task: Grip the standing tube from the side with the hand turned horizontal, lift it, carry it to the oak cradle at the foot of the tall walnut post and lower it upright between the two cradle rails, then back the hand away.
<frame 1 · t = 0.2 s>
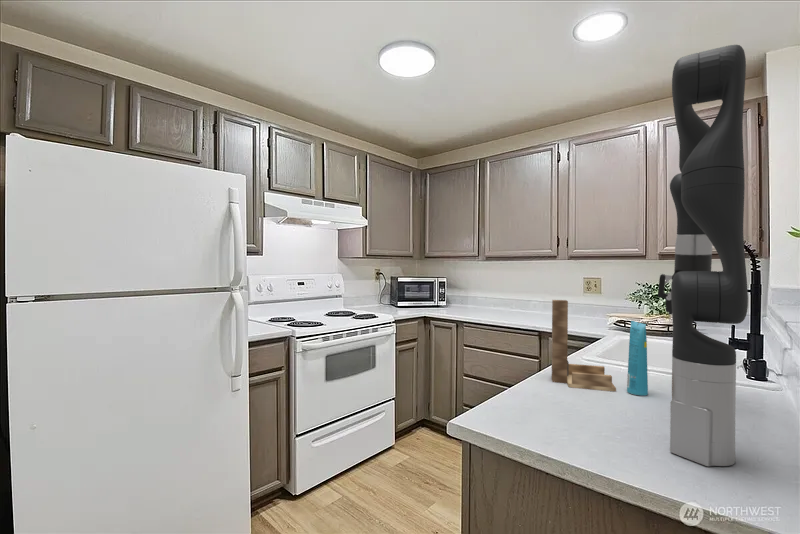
hand: (690, 315, 102), 22 cm above the table, tool pointing down, fingers open, 8 cm apart
headboard bracket: (588, 383, 117), on the table
tube: (637, 393, 108), on the table
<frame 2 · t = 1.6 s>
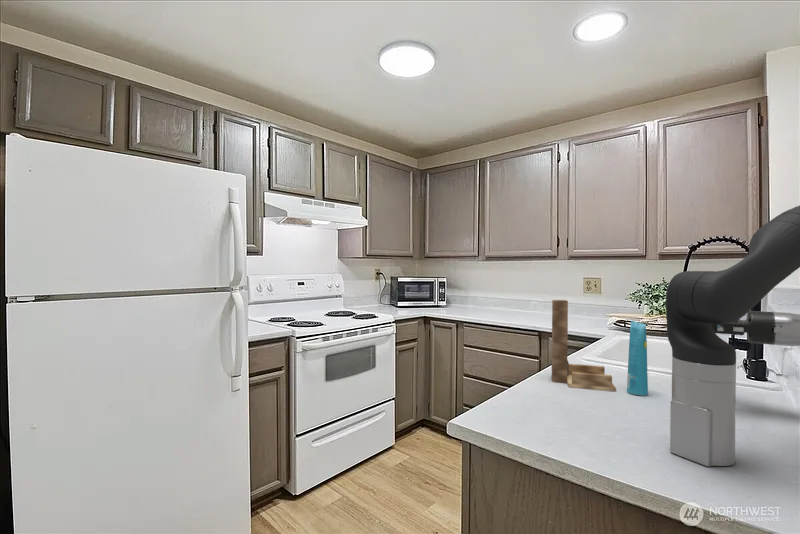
hand: (687, 322, 101), 20 cm above the table, tool horizontal, fingers open, 8 cm apart
nothing on the table moved.
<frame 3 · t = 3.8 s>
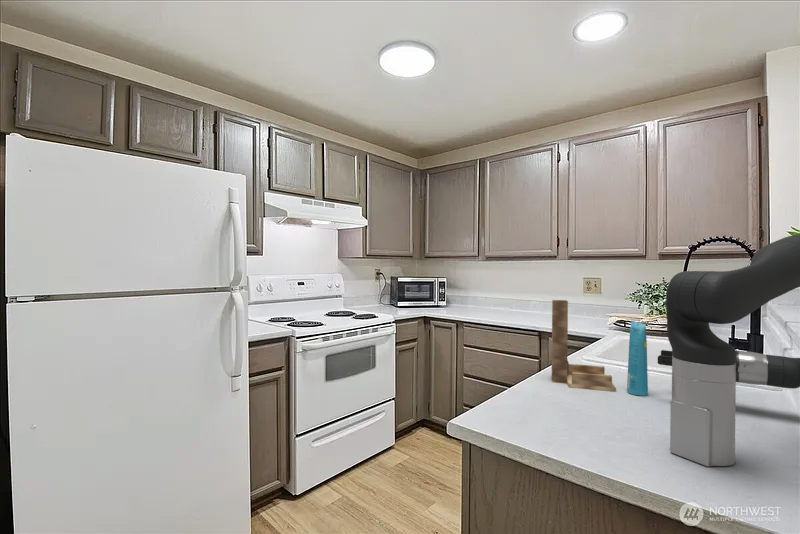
hand: (659, 356, 105), 11 cm above the table, tool horizontal, fingers open, 8 cm apart
nothing on the table moved.
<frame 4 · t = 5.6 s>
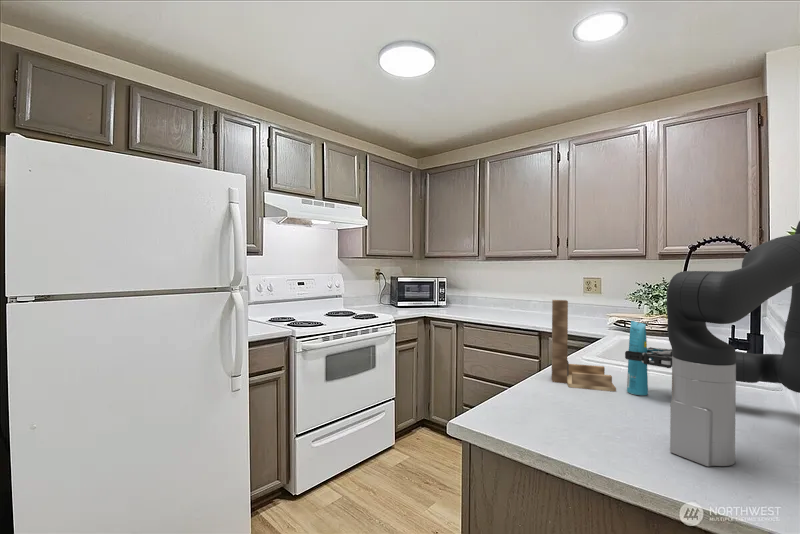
hand: (627, 353, 109), 11 cm above the table, tool horizontal, fingers closed on tube, 5 cm apart
tube: (637, 393, 108), on the table, touching gripper
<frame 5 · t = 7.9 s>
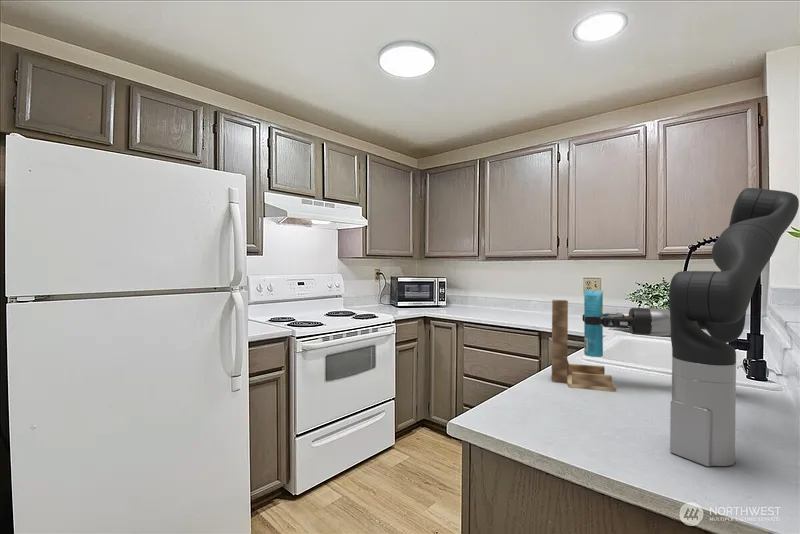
hand: (584, 319, 117), 19 cm above the table, tool horizontal, fingers closed on tube, 5 cm apart
tube: (593, 356, 116), point 8 cm above the table, touching gripper
when the fingers open (12 cm above the table, at t = 10.0 s): tube stays where it is, resting on headboard bracket.
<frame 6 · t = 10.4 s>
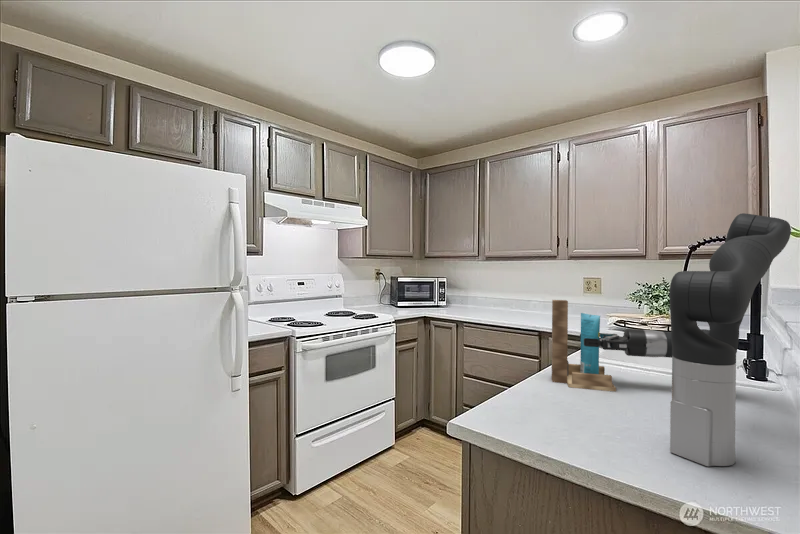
hand: (581, 339, 117), 13 cm above the table, tool horizontal, fingers open, 8 cm apart
tube: (589, 380, 116), point 1 cm above the table, touching headboard bracket
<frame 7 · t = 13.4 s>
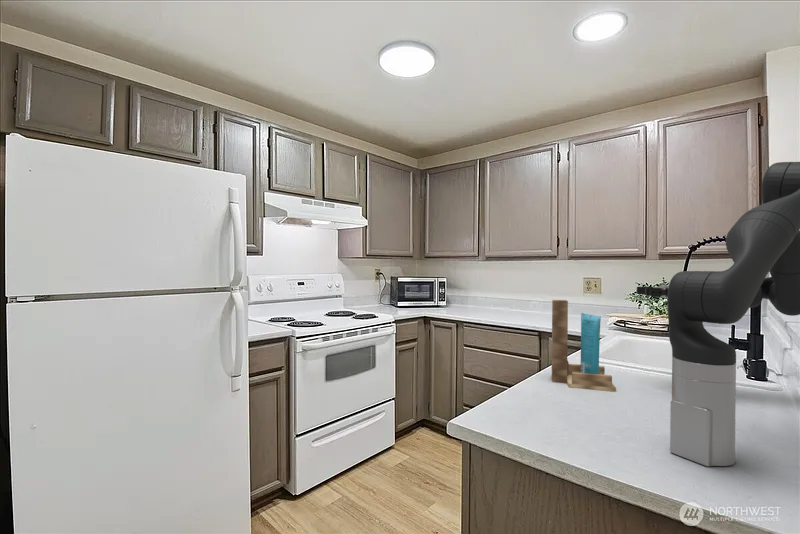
hand: (641, 291, 111), 27 cm above the table, tool horizontal, fingers open, 8 cm apart
nothing on the table moved.
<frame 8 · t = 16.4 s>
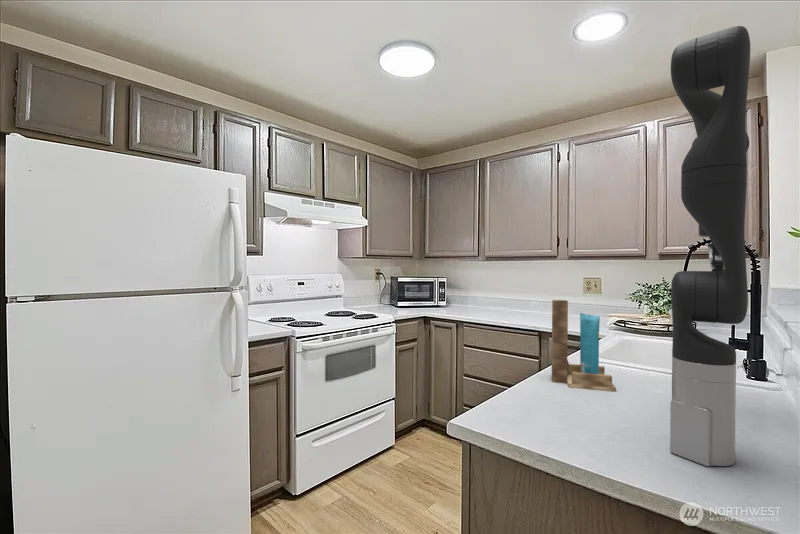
hand: (717, 284, 94), 30 cm above the table, tool pointing down, fingers open, 8 cm apart
nothing on the table moved.
at the end: tube inside the target area on the headboard bracket (0.3 cm from its centre), point 0.8 cm above the headboard bracket's base; tube tilted 0°; the gripper is holding nothing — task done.
